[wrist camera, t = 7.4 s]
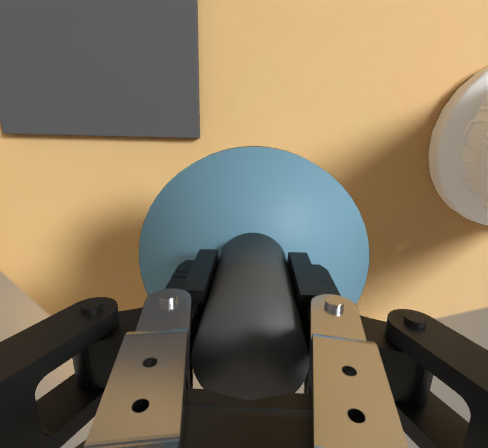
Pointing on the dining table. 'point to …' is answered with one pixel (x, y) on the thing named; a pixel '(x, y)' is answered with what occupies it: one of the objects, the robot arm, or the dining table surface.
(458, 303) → the dining table surface
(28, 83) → the mat
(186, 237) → the lid
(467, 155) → the decorative container
